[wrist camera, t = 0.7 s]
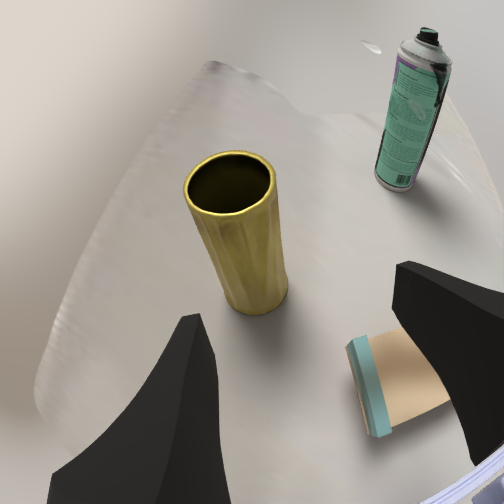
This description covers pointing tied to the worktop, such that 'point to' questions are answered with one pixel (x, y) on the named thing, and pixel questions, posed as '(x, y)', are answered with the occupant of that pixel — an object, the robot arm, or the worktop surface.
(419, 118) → the spray can
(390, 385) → the tan panel teal strip
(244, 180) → the vase
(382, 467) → the worktop surface
